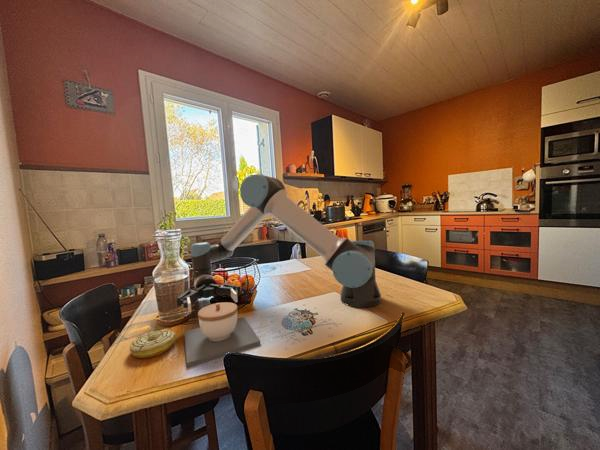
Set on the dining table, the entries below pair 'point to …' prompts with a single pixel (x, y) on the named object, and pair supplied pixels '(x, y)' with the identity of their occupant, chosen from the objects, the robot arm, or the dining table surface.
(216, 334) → the lidded jar
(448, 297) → the dining table surface
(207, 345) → the mat
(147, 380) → the dining table surface
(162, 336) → the decorated donut
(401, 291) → the dining table surface
